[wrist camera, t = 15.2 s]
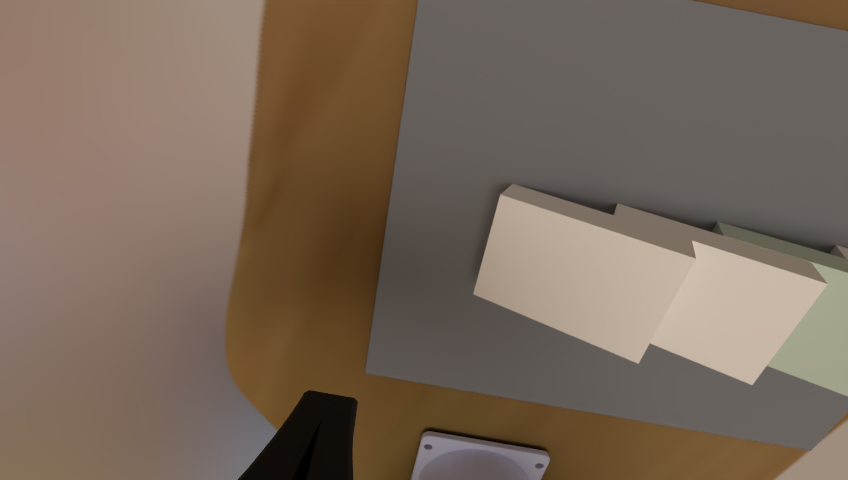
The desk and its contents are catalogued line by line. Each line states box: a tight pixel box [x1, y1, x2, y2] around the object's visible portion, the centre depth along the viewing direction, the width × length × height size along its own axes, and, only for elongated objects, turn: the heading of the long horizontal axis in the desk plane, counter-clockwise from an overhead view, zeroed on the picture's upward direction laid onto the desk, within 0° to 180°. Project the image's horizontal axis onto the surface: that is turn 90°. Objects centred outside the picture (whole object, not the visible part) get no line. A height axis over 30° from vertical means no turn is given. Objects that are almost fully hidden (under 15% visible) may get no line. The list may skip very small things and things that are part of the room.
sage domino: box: [712, 221, 848, 396], centre depth 17 cm, size 2×5×7 cm
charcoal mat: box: [365, 0, 848, 451], centre depth 19 cm, size 20×26×1 cm
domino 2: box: [613, 203, 828, 385], centre depth 17 cm, size 2×5×7 cm
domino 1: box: [473, 184, 696, 364], centre depth 17 cm, size 2×5×7 cm
